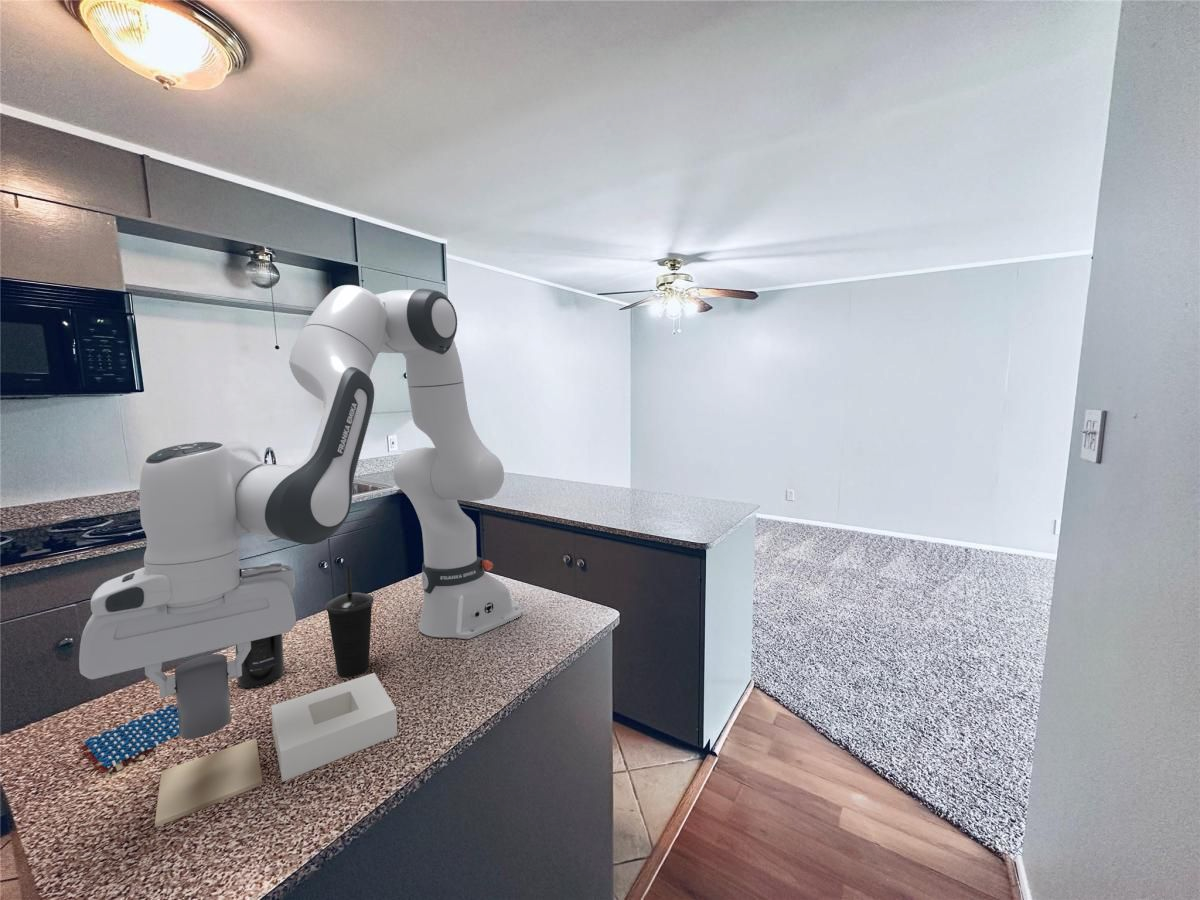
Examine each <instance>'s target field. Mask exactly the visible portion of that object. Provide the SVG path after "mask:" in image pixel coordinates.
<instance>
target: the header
mask: <svg viewBox="0 0 1200 900" xmlns="http://www.w3.org/2000/svg"><path fill="white" fill-rule="evenodd" d="M270 709H271V711H270V712H271V724H272V726H271V727H272V736H273V741H274V746H275V750H276V756H277V762H278V767H279V772H280V776H281V781H282V782H285V781H288V780H290V779H293V778H295V777H298V776H300V775H303V774H306V773H307V772H310V771H312V770H315V769H317V768H320V767H322V766H325V765H327V764H330V763H333V762H335V761H337V760H340V759H343V758H346V757H348V756H350V755H353V754H355V753H356V752H360V751H362V750H364V749H367V748H370V747H372V746H374V745H377V744H379V743H381V742H385V741H387V740H389V739H392V738H394V737H396V736H398V718H397V717H398V716H397V707H396V706H395V704H394V703H393V701H392V699H391V697H390V696H389V694H388V693H387V691H386V690H385V688H384V686H383V684H382V683H381V681H380V680H379V678H378V676H377V674H376V673H375V672H373V673H369V674H367V675H366V674H365V675H363V676H359V677H357V678H354V679H351V680H346V681H344V682H342V683H338V684H333V685H331V686H329V687H326V688H322V689H319V690H316V691H313V692H309V693H307V694H303V695H301V696H298V697H294V698H290V699H287V700H283V701H281V702H279V703H275V704H271V706H270Z"/></svg>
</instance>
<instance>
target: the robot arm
mask: <svg viewBox="0 0 1200 900" xmlns="http://www.w3.org/2000/svg"><path fill="white" fill-rule="evenodd" d="M457 329H458V317H457V312H456V309H455V307H454V305H453V303H452V302H451V300H449V299H448V297H447V296H446V295H445V294H444V293H443V292H441V291H440V290H434V289H431V288H430V289H428V288H418V289H397V290H389V291H387V292H382V293H376V294H375V293H373V292H371V291H370V290H368V289H366V288H364V287H361V286H358V285H354V284H344V285H340V286H337V287H336V288H333V289H332V290H331V291H330V292H329V293H328V294H327V295H326V296H325V297H324V299H323V300H321V302H320V303H319V304H318V305H317V306H316V308H315V309H314V311H313V312H312V313H311V315H310V316H309V318H308V319H307V321H306V323H305V324H304V326H303V328H302V329H301V331H300V333H299V334H298V336H297V337H296V339H295V342H294V344H293V346H292V347H291V348H292V349H291V351H290V352H291V353H290V355H289V361H288V363H289V366H290V367H289V368H290V372H291V373H292V375H293V376H294V379H295V380H296V381H297V383H298V384H299V385H300V386H301V387H302V388H303V389H304V390H305V391H306V392H308V393H310V394H311V395H312V396H314V397H315V398H318V400H320V401H322V402H323V405H324V406H323V414H322V417H321V419H320V421H319V425H318V428H317V431H316V434H315V437H314V439H313V442H312V446H311V449H310V452H309V454H308V455H307V456H306V458H305V459H303V460H302V461H301V462H299V463H297V464H296V465H283V464H275V463H264V462H262V461H258V460H255V459H252V458H248V457H245V456H243V455H240V454H237V453H236V452H235V451H234V452H233V451H232V450H230V449H228V448H227V447H226V446H225V445H224V444H222V443H219V442H213V441H202V442H201V441H200V442H194V443H193V442H192V443H182V444H177V445H172V446H169V447H166V448H162V449H159V450H157V451H155V452H154V453H152V454H150V455H149V456H148V457H147V458H146V459H145V461H144V463H143V465H142V469H141V473H140V479H139V512H140V513H139V515H140V526H141V528H142V530H143V531H144V533H145V536H146V549H145V552H144V554H143V563H144V564H143V565H144V567H140V568H138V569H136V570H134V571H130V572H128V573H125V574H121V575H120V576H117V577H114V578H112V579H108V580H107V581H105V582H103V583H102V584H100V585H99V586H98V587H97V589H96V590H95V591H94V592H93V593H92V596H91V598H90V611H91V613H92V614H91V616H90V617H89V619H88V620H87V622H86V624H85V626H84V629H83V630H82V634H81V640H80V645H79V655H78V657H79V659H78V660H79V661H78V662H79V663H78V665H79V667H78V668H79V673H80V675H82V676H83V677H85V678H87V679H89V680H96V679H101V678H105V677H109V676H113V675H116V674H121V673H124V672H128V671H133V670H137V669H141V668H144V676H146V677H147V678H148V679H149V680H150V681H152V682H153V684H155V685H156V686H158V687H159V698H160V699H163V698H166V697H167V698H168V697H170V696H173V695H177V692H176V680H175V674H174V675H171V676H167V675H166V674H165V673H164V672H163V671H162V666H163V663H166V662H169V661H174V660H178V659H182V658H183V659H184V658H187V657H191V656H195V655H198V654H199V655H200V654H204V653H208V652H212V651H216V650H220V649H224V648H228V647H233V646H235V645H237V649H238V654H237V656H236V655H235V658H234V659H233V660H232V659H231V660H229V661H228V660H227V673H228V681H229V680H233V679H235V678H236V679H237V677H240V676H242V666H241V664H242V663H243V662H244V660H245V658H246V657H247V655H248V653H249V652H250V650H251V641H254V640H258V639H262V638H266V637H271V636H275V635H279V634H282V635H284V634H286V633H290V632H291V631H292V630H293V628H294V627H295V626H296V624H297V618H296V616H297V615H296V610H295V606H294V605H295V604H294V600H293V597H292V593H293V592H294V591H295V589H296V586H297V579H296V571H295V569H293V567H291V566H290V565H285V564H283V563H281V562H276V563H271V564H270V563H269V564H268V565H262V566H251V567H245V568H240V567H241V566H240V564H241V563H240V553H239V552H240V551H239V538H240V537H241V536H243V535H248V534H254V535H257V536H264V537H271V538H272V537H273V538H279V539H282V540H285V541H289V542H292V543H293V542H294V543H297V544H300V545H315V544H319V543H322V542H324V541H325V540H327V539H330V538H331V537H332V536H334V534H335V533H337V531H339V529H341V527H342V526H343V525H344V523H345V522H346V521H347V519H348V516H349V515H350V512H351V509H352V500H353V488H354V487H353V486H354V479H355V475H356V471H357V470H356V469H357V466H358V464H359V463H358V462H359V459H360V456H361V452H362V449H363V445H364V441H365V438H366V435H367V431H368V430H367V429H368V427H369V423H370V419H371V415H372V412H373V406H374V400H375V387H374V384H373V381H372V379H371V378H370V376H371V371H372V368H373V366H374V364H375V362H376V361H377V357H378V355H379V353H382V354H384V353H385V354H402V356H404V358H405V363H406V364H405V365H406V366H405V368H406V380H407V381H406V382H407V386H408V387H407V388H408V395H409V402H410V403H409V404H410V408H411V415H412V420H413V421H412V422H413V423H414V425H415V426H416V428H417V429H419V430H420V431H421V432H423V433H424V434H426V436H427V437H428V438H429V439H430V441H431V442H432V444H433V446H434V447H430V446H429V447H428V446H427V447H418V448H413V449H410V450H406V451H404V452H401V454H400V455H399V456H398V458H397V459H396V461H395V463H394V467H393V478H394V482H395V485H396V487H398V489H400V490H401V491H402V492H403V493H404V494H405V495H406V497H407V498H408V499H409V500H410V502H411V504H412V506H413V508H414V510H415V512H416V515H417V518H418V520H419V523H420V527H421V533H422V543H423V545H422V546H423V562H422V564H421V565H422V566H421V567H422V568H421V571H422V572H421V584H422V590H423V602H422V609H421V613H420V614H421V615H420V618H419V622H418V626H417V628H418V631H420V633H421V634H423V635H425V636H429V637H433V638H455V639H462V640H469V639H472V638H474V637H477V636H479V635H482V634H484V633H486V632H489V631H491V630H493V629H495V628H498V627H501V626H502V625H505V624H507V622H508V623H510V622H512V621H514V619H515V620H516V618H517V619H519V618H521V617H522V616H521V615H523V614H522V608H521V606H520V605H519V604H518V603H517V602H515V601H514V600H512V597H511V594H510V593H511V592H510V591H509V589H508V587H507V586H506V585H505V584H504V583H503V582H502V581H500V580H498V579H497V578H495V577H494V576H492V575H491V574H489V573H487V572H489V571H491V570H492V569H493V568H494V563H493V562H492V561H490V560H488V559H484V558H482V557H479V556H478V555H477V554H478V553H477V527H476V524H475V522H474V521H473V520H472V518H471V517H469V516H468V515H467V514H466V513H465V512H464V511H463V510H462V509H461V507H460V504H459V502H458V501H465V502H477V501H483V500H489V499H492V498H494V497H495V496H497V494H498V493H499V492H500V490H501V489H502V486H503V483H504V480H505V471H504V467H503V463H502V461H501V460H500V459H499V457H498V456H497V455H496V454H494V453H493V452H492V451H490V450H489V449H488V447H486V446H485V444H484V442H483V441H482V440H481V438H480V437H479V435H478V434H477V432H476V430H475V428H474V426H473V424H472V421H471V418H470V413H469V409H468V408H469V407H468V403H467V395H466V389H465V382H464V380H465V379H464V373H463V368H462V363H461V360H460V359H461V358H460V356H459V355H460V354H459V352H458V348H457V346H456V345H457V344H456V343H455V337H456V334H457V331H458V330H457ZM485 570H486V571H487V572H486V571H485ZM520 616H521V617H520ZM518 617H519V618H518ZM509 621H510V622H509Z"/></svg>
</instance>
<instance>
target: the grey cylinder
mask: <svg viewBox="0 0 1200 900" xmlns="http://www.w3.org/2000/svg"><path fill="white" fill-rule="evenodd" d="M227 662H228V658H227V656H226V655H224V654H220V653H212V654H207V655H206V654H205V655H201V656H197V657H195V658H192V659H189V660H187V661H184V662H183V663H181V664H179V665H178V666H177V667H176V668H175V669H174V675H175V680H176V692H177V694H176V705H177V707H178V710H177V712H178V719H179V732H180V735H179V737H180V738H182V739H185V740H193V739H194V740H195V739H200V738H203V737H208V736H209V735H212V734H214V733H216V732H218V731H220V730H221V729H223V728H225V727H226V726H227V725H228V724H229V723H230V721H231V719H232V714H231V703H230V700H231V699H230V698H231V697H230V686H229V685H230V684H229V680H228V673H227Z"/></svg>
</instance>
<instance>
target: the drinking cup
mask: <svg viewBox="0 0 1200 900" xmlns="http://www.w3.org/2000/svg"><path fill="white" fill-rule="evenodd" d="M351 570H352V569H351V566H350V565H347V566H346V567H345V571H346V574H345V575H346V593H344V594H340V595H339V596H337V597H335V598H332V599H331V600H329V601H327V602H326V604H325V606H324V608H325V611H326V612H327V616H328V623H329V629H330V637H331V641H332V642H331V643H332V647H333V653H334V660H335V667H336V672H337V675H338V677H340V678H354V677H357V676H359V675H362V674H363V673H365V672H367V671H368V669H369V664H370V662H369V661H370V645H371V643H370V642H371V627H372V607H373V603H374V600H375V599H374V596H373V595H371V594H369V593H363V592H352V576H351V575H352V572H351Z"/></svg>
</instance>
